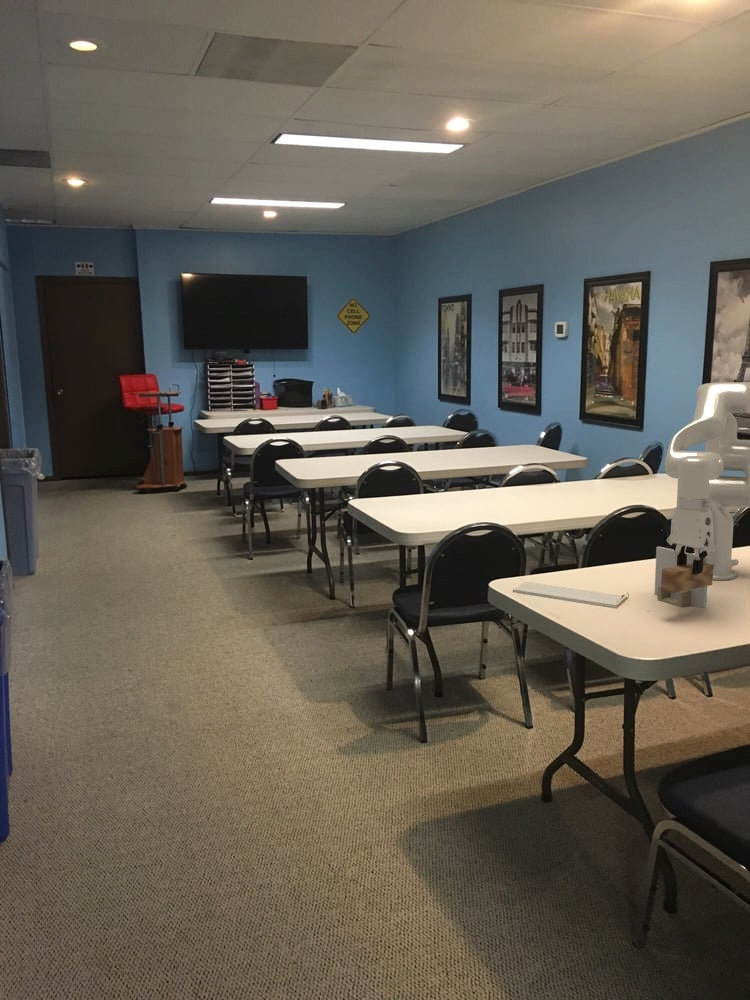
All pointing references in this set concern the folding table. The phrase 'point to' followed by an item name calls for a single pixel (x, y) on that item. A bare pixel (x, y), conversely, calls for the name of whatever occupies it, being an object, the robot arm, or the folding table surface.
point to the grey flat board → (571, 594)
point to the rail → (686, 578)
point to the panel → (683, 598)
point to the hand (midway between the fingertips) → (689, 570)
